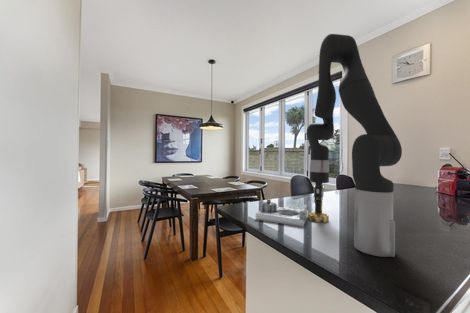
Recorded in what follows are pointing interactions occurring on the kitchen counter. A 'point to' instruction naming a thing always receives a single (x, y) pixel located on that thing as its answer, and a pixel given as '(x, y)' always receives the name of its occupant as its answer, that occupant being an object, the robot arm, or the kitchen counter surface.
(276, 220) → the carrier
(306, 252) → the kitchen counter surface
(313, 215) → the planet gear
